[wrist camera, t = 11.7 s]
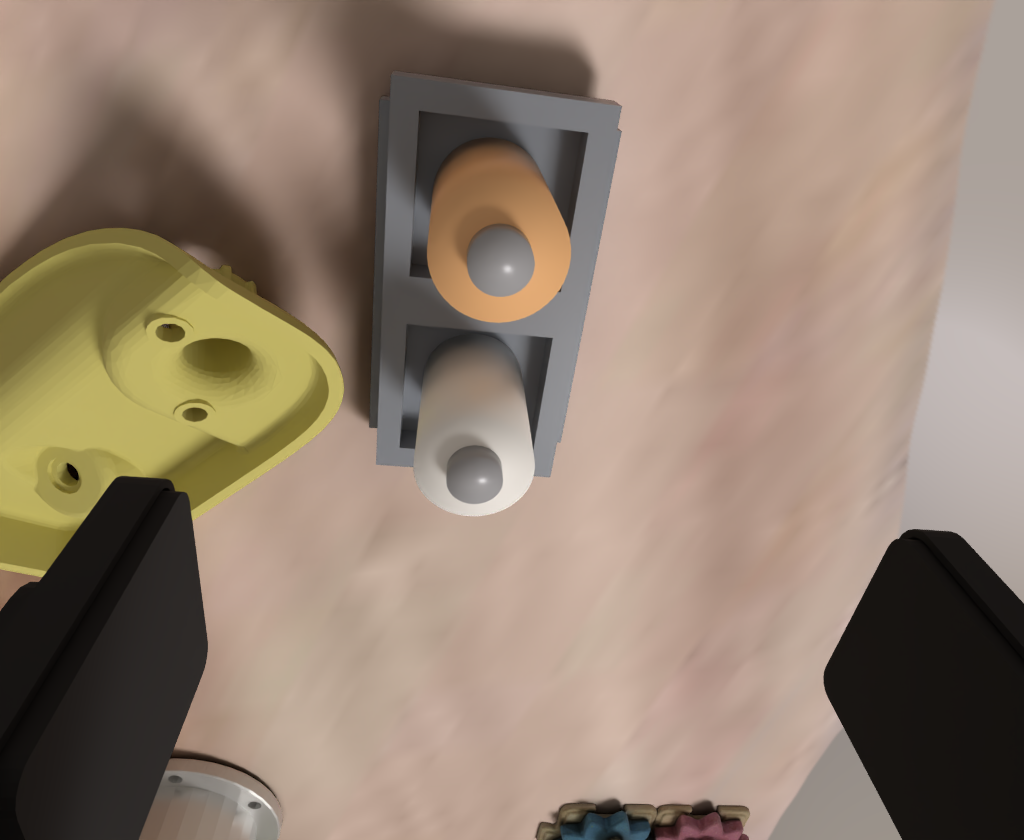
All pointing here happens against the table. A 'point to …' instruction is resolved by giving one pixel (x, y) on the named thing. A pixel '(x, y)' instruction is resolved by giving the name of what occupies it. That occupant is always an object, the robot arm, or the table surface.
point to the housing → (404, 237)
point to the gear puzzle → (646, 824)
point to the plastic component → (142, 383)
